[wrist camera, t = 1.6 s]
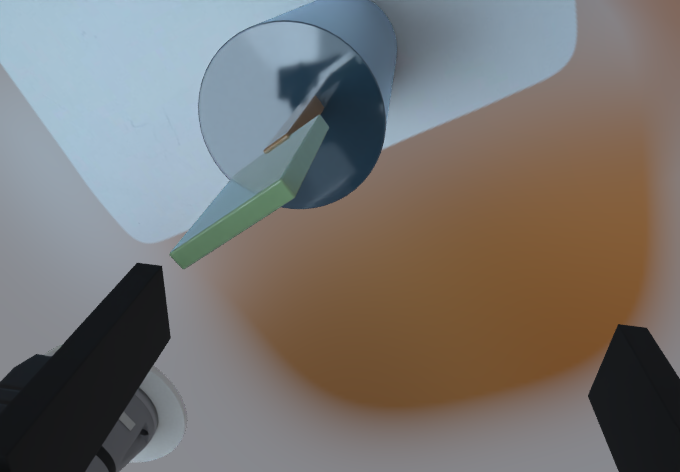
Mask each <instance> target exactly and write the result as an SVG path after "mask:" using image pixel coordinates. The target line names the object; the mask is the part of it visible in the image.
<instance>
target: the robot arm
mask: <svg viewBox="0 0 680 472" xmlns="http://www.w3.org/2000/svg"><path fill="white" fill-rule="evenodd" d="M169 340H170V329H169V321H168V313H167V305H166V296H165V287H164V279H163V271H162V266H158V265H150V264H142V263H137V264H136V265H135V266H134V267H133V268H132V269H131V270H130V271H129V272H128V274H127V275H126V276H125V277H124V278H123V279H122V280H121V281H120V282H119V283H118V284H117V286H116V287H115V288H114V289H113V290H112V291H111V292H110V293H109V294H108V295H107V297H106V298H105V299H104V300H103V301H102V302H101V303H100V304H99V305H98V306H97V307H96V309H95V310H94V311H93V312H92V313H91V314H90V315H89V316H88V317H87V318H86V319H85V321H84V322H83V323H82V324H81V325H80V326H79V327H78V328H77V330H75V332H74V333H73V334H72V335H71V336H70V337H69V338H68V339H67V340H66V342H65V343H64V344H63V345H62V346H61V347H60V348H59V349H58V350H57V351H56V352H55V354H54V355H53V356H46V355H39V354H36V355H34V356H33V357H31V358H29V359H27V360H26V361H24V362H23V363H21V364H19V365H18V366H16V367H14V368H13V369H12V370H11V372H10V373H8V374H7V376H6V377H5V378H4V379H3V380H2V381H1V382H0V472H119V471H120V470H121V469H122V468H123V467H125V466H126V465H127V464H128V463H129V462H130V461H131V460H132V459H133V458H134V457H135V456H137V455H138V454H139V453H140V452H141V451H142V450H143V449H144V448H145V447H146V446H147V444H148V443H149V442H150V441H151V439H152V437H153V435H154V434H155V432H156V430H157V427H158V414H157V410H156V408H155V406H154V404H153V402H152V401H151V399H150V398H149V397H148V396H147V394H146V393H145V392H144V391H143V390H142V389H140V388H139V387H140V385H141V384H142V382H143V380H144V379H145V377H146V376H147V374H148V373H149V371H150V370H151V368H152V366H153V365H154V363H155V362H156V360H157V359H158V357H159V355H160V354H161V352H162V351H163V349H164V348H165V346H166V344H167V343H168V341H169ZM588 397H589V400H590V402H591V405H592V407H593V410H594V412H595V415H596V417H597V419H598V422H599V424H600V427H601V429H602V432H603V434H604V437H605V439H606V442H607V444H608V446H609V449H610V451H611V454H612V456H613V459H614V461H615V464H616V466H617V469H618V471H619V472H680V379H679V377H678V376H677V374H676V372H675V371H674V369H673V368H672V366H671V365H670V363H669V362H668V360H667V359H666V357H665V355H664V354H663V352H662V351H661V350H660V348H659V346H658V345H657V343H656V342H655V340H654V338H653V337H652V335H651V334H650V332H649V331H648V329H647V328H643V327H635V326H628V325H620V324H618V326H617V329H616V331H615V333H614V335H613V338H612V340H611V343H610V345H609V347H608V350H607V352H606V354H605V357H604V359H603V362H602V364H601V366H600V368H599V371H598V373H597V376H596V378H595V380H594V383H593V385H592V387H591V390H590V392H589V395H588Z"/></svg>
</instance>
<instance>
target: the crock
mask: <svg viewBox="0 0 680 472" xmlns="http://www.w3.org/2000/svg"><path fill="white" fill-rule="evenodd" d="M396 58H397V41H396V36H395V32H394V29H393V27H392V24H391V23H390V21H389V19H388V17H387V16H386V15H385V13H384V12H383V11H382V10H381V9H380V8H379V7H378V6H377V5H376V4H374V3H373V2H372V1H370V0H316V1H313V2H311V3H308V4H306V5H303V6H301V7H299V8H296V9H294V10H291V11H289V12H286V13H284V14H281V15H279V16H276V17H274V18H271V19H269V20H266V21H264V22H261V23H259V24H256V25H254V26H251V27H249V28H247V29H245V30H243V31H241V32H239V33H238V34H236V35H235V36H234V37H232V38H231V39H230V40H228V41H227V42H226V43H225V44H224V45H223V46H222V47H221V48H220V49H219V50H218V52H217V53H216V54H215V56H214V57H213V58H212V60H211V62H210V64H209V66H208V67H207V69H206V72H205V74H204V77H203V80H202V83H201V88H200V92H199V103H198V110H199V121H200V127H201V132H202V135H203V138H204V141H205V144H206V146H207V148H208V151H209V153H210V154H211V156H212V158H213V160H214V161H215V163H216V164H217V166H218V167H219V168H220V170H221V171H222V172H223V173H224V174H225V176H226V177H227V178H228V179H229V180H230V181H229V182H228V184H227V185H226V186H225V187H224V188H223V190H222V191H221V192H220V193H219V194H218V196H217V197H216V198H215V199H214V200H213V202H212V203H211V204H210V205H209V206H208V208H207V209H206V210H205V211H204V212H203V214H202V215H201V216H200V217H199V219H198V220H197V221H196V222H195V223H194V225H193V226H192V227H191V228H190V229H189V231H188V232H187V233H186V234H185V235H184V237H183V238H182V239H181V240H180V242H179V243H178V244H177V245H176V246H175V247H174V249H173V250H172V251H171V252H170V256H171V257H172V258H173V259H174V260H175V261H176V262H177V264H178V265H179V266H180V267H181V268H182V269H185V268H187V267H189V266H190V265H192V264H193V263H195V262H196V261H198V260H200V259H201V258H203V257H204V256H206V255H207V254H209V253H210V252H212V251H214V250H215V249H217V248H218V247H220V246H221V245H223V244H224V243H226V242H227V241H229V240H231V239H232V238H234V237H235V236H237V235H238V234H240V233H241V232H243V231H244V230H246V229H248V228H249V227H251V226H252V225H254V224H255V223H257V222H258V221H260V220H261V219H263V218H264V217H266V216H268V215H269V214H271V213H272V212H274V211H275V210H277V209H278V208H280V207H283V208H290V209H309V208H316V207H321V206H325V205H328V204H330V203H333V202H335V201H337V200H340V199H342V198H343V197H345V196H347V195H348V194H349V193H351V192H352V191H354V190H355V189H356V188H357V187H358V186H359V185H360V184H361V183H362V182H363V181H364V180H365V179H366V178H367V176H368V175H369V174H370V173H371V171H372V169H373V168H374V166H375V164H376V162H377V160H378V158H379V155H380V153H381V150H382V146H383V143H384V138H385V131H386V125H387V118H388V111H389V105H390V98H391V92H392V85H393V78H394V72H395V65H396Z"/></svg>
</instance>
